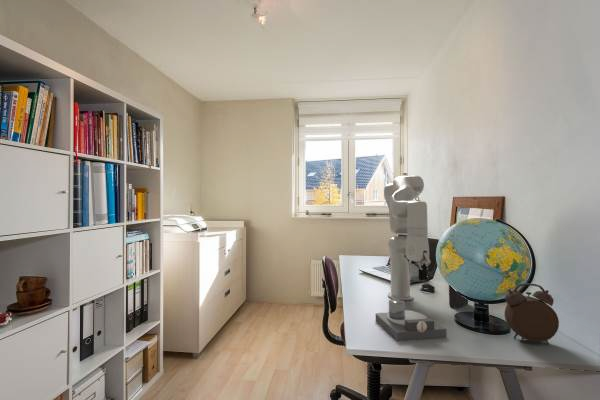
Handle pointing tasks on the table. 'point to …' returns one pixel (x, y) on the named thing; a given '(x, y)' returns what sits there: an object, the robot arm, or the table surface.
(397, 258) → the robot arm
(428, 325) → the scale
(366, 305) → the table surface
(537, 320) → the alarm clock
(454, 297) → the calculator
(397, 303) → the cylinder
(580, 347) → the table surface
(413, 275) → the cylinder
